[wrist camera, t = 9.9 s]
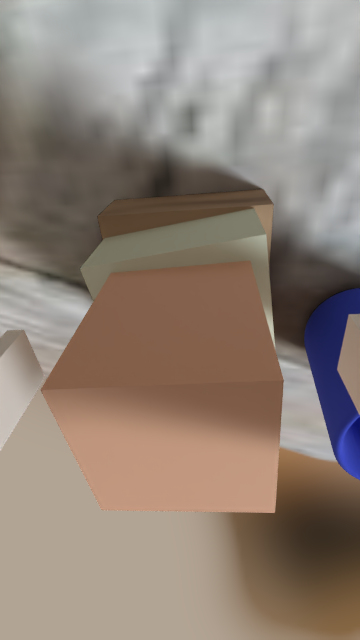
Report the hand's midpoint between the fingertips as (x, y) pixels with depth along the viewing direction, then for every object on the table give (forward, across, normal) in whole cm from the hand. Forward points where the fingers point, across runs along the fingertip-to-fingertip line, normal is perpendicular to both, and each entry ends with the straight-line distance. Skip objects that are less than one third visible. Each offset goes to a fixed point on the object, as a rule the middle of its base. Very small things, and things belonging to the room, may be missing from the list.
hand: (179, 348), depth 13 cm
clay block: (+2, 0, 0) cm, 2 cm away
